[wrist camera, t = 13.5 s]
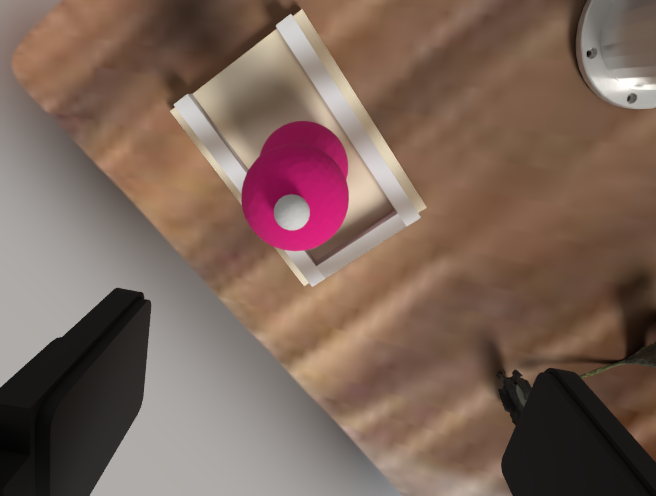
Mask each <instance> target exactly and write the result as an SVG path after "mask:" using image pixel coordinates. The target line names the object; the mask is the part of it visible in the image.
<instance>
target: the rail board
mask: <svg viewBox="0 0 656 496" xmlns="http://www.w3.org/2000/svg"><path fill="white" fill-rule="evenodd" d="M276 27H277V29H276V30H274V31H273V32H272V33H271V34H269V35H268V36H267V37H265V38H264V39H263V40H262V41H260V42H259V43H258V44H256V45H255V46H254V47H252V48H251V49H250V50H249V51H247V52H246V53H245V54H243V55H242V56H241V57H240V58H238V59H237V60H236V61H234V62H233V63H232V64H230V65H229V66H228V67H227V68H225V69H224V70H223V71H221V72H220V73H219V74H218V75H216V76H215V77H214V78H212V79H211V80H210V81H208V82H207V83H206V84H205V85H203V86H202V87H201V88H199V89H198V90H197V91H195V92H194V93H193V94H187V95H185V96H184V97H183V98H181V99H180V100H179V101H177V102H176V103H175V104H174V106H175V108H173V109H172V110H171V111H170V112H171V113H172V114H173V116H174V117H175V118H176V120H177V121H178V122H179V124H180V125H181V126H182V128H183V129H184V130H185V131H186V133H187V134H188V135H189V137H190V138H191V139H192V141H193V142H194V143H195V144H196V146H197V147H198V148H199V150H200V151H201V152H202V154H203V155H204V156H205V158H206V159H207V160H208V161H209V163H210V164H211V165H212V167H213V168H214V169H215V171H216V172H217V173H218V174H219V176H220V177H221V178H222V180H223V181H224V182H225V184H226V185H227V186H228V188H229V189H230V190H231V191H232V193H233V194H234V195H235V197H236V198H237V199H238V201H239V202H240V203H241V204H242V202H241V195H242V186H243V181H244V179H245V177H246V174H247V172H248V170H249V169H250V167H251V166H252V164H253V163H254V162H255V161H256V159H257V158H258V157H259V156H260V153H261V150H262V147H263V145H264V143H265V142H266V140H267V139H268V137H269V136H270V135H271V134H272V133H273V132H274V131H275V130H277V129H278V128H280V127H281V126H283V125H285V124H288V123H291V122H295V121H310V122H315V123H318V124H320V125H323V126H324V127H326V128H328V129H329V130H331V131H332V132H333V133H334V134H335V135H336V136H337V137H338V138H339V140H340V141H341V143H342V144H343V146H344V148H345V151H346V154H347V158H348V175H347V180H346V181H347V185H348V190H349V204H348V210H347V214H346V217H345V219H344V221H343V223H342V225H341V227H340V228H339V229H338V231H337V232H336V233H335V234H334V235H333V236H332V237H331V238H330V239H329V240H327V241H326V242H325V243H323V244H322V245H320V246H317V247H315V248H312V249H309V250H305V251H287V250H282V249H279V248H276V247H275V249H276V250H277V251H278V253H279V254H280V255H281V257H282V258H283V259H284V261H285V262H286V263H287V264H288V266H289V267H290V268H291V270H292V271H293V272H294V274H295V275H296V276H297V277H298V279H299V280H300V281H301V283H302V284H303V285H304V286H305V285H307V284H308V283H309V284H310V285H311V286H312V287H313V286H314V285H316V284H318V283H319V282H321V281H322V280H324V279H325V278H327V277H329V276H330V275H332V274H333V273H335V272H336V271H338V270H339V269H341V268H343V267H344V266H346V265H347V264H349V263H350V262H352V261H354V260H355V259H357V258H358V257H360V256H361V255H363V254H365V253H366V252H368V251H369V250H371V249H372V248H374V247H375V246H377V245H379V244H380V243H382V242H383V241H385V240H386V239H388V238H390V237H391V236H393V235H394V234H396V233H397V232H399V231H401V230H402V229H404V228H405V227H407V226H408V225H410V224H411V223H413V222H415V221H416V220H418V219H419V218H421V217H420V216H419V214H418V213H419V212H420V211H422V210H424V209H425V208H427V207H426V206H425V204H424V203H423V201H422V199H421V198H420V196H419V195H418V193H417V191H416V190H415V188H414V187H413V185H412V183H411V182H410V180H409V179H408V177H407V175H406V174H405V172H404V171H403V169H402V167H401V166H400V164H399V163H398V161H397V159H396V158H395V156H394V155H393V153H392V152H391V150H390V148H389V147H388V145H387V144H386V142H385V140H384V139H383V137H382V136H381V134H380V132H379V131H378V129H377V128H376V126H375V124H374V123H373V121H372V120H371V118H370V116H369V115H368V113H367V112H366V110H365V109H364V107H363V105H362V104H361V102H360V101H359V99H358V97H357V96H356V94H355V93H354V91H353V89H352V88H351V86H350V85H349V83H348V81H347V80H346V78H345V77H344V75H343V73H342V72H341V70H340V69H339V67H338V65H337V64H336V62H335V61H334V59H333V58H332V56H331V54H330V53H329V51H328V50H327V48H326V46H325V45H324V43H323V42H322V40H321V38H320V37H319V35H318V34H317V32H316V30H315V29H314V27H313V26H312V24H311V22H310V21H309V19H308V18H307V16H306V14H305V13H304V11H303V10H300V11H299V12H298V13H296V14H295V15H294V16H292V15H291V14H290V15H289V16H287V17H286V18H285V19H283V20H282V21H281V22H279V23H278V24H277V25H276Z"/></svg>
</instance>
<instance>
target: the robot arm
mask: <svg viewBox="0 0 656 496" xmlns="http://www.w3.org/2000/svg"><path fill="white" fill-rule="evenodd" d="M587 52H588V56H587ZM576 56H577V61H578V66H579V69H580V72H581V74H582V76H583V79H584V81H585V82H586V83H587V85H588V86H589V88H590V89H591V90H592V91H593V92H594V93H595V94H596V95H597V96H598V97H599V98H601V99H602V100H604V101H606V102H608V103H610V104H612V105H614V106H618V107H622V108H629V109H649V108H655V107H656V0H587V2H586V4H585V6H584V7H583V10H582V13H581V17H580V20H579V23H578V28H577V34H576ZM627 97H628V98H627ZM150 314H151V302H150V300H145V299H144V294H143V293H142V292H137V291H132V290H126V289H121V288H116V289H114V290H113V291H112V292H111V293H110V294H109V295H107V296H106V297H105V298H104V299H103V300H102V301H101V302H100V303H99V304H98V305H97V306H95V307H94V308H93V309H92V310H91V311H90V312H89V313H88V314H87V315H86V316H85V317H83V318H82V319H81V320H80V321H79V322H78V323H77V324H76V325H75V326H74V327H73V328H72V329H70V330H69V331H68V332H67V333H66V334H65V335H64V336H63V337H60V338H56V339H55V340H53V341H52V342H50V343H49V344H48V345H47V346H46V347H45V348H44V349H43V350H42V351H41V352H40V353H38V354H37V355H36V356H35V357H34V358H33V359H32V360H30V361H29V362H28V363H27V364H26V365H25V366H24V367H23V368H22V369H20V370H19V371H18V372H17V373H16V374H15V375H14V376H13V377H12V378H10V379H9V380H8V381H7V382H6V383H5V384H4V385H3V386H2V387H0V496H89V495H90V494H91V492H92V490H93V489H94V487H95V485H96V484H97V482H98V480H99V478H100V477H101V475H102V473H103V472H104V470H105V468H106V467H107V465H108V463H109V462H110V460H111V458H112V457H113V455H114V453H115V452H116V450H117V448H118V446H119V445H120V443H121V441H122V440H123V438H124V436H125V435H126V433H127V431H128V430H129V428H130V426H131V424H132V423H133V421H134V419H135V418H136V416H137V414H138V412H139V410H140V408H141V405H142V401H143V393H144V383H145V371H146V359H147V348H148V336H149V326H150ZM501 468H502V473H503V476H504V478H505V480H506V482H507V484H508V486H509V489H510V491H511V493H512V495H513V496H656V462H655V461H654V460H653V459H652V458H651V457H650V456H649V454H648V453H647V452H646V451H645V450H644V449H643V448H642V447H641V445H640V444H639V443H638V442H637V441H636V440H635V439H634V438H633V436H632V435H631V434H630V433H629V432H628V431H627V430H626V429H625V427H624V426H623V425H622V424H621V423H620V422H619V421H618V420H617V418H616V417H615V416H614V415H613V414H612V413H611V412H610V411H609V409H608V408H607V407H606V406H605V405H604V404H603V403H602V401H601V400H600V399H599V398H598V397H597V396H596V395H595V394H594V392H593V391H592V390H591V389H590V388H589V387H588V386H587V385H586V383H585V382H584V381H583V380H582V379H581V378H580V377H579V376H578V375H577V374H576V373H575V372H570V371H565V370H560V369H554V368H549V369H547V370H546V371H545V372H544V373H543V372H542V373H540V374H539V375H538V376H537V378H536V380H535V382H534V384H533V387H532V389H531V391H530V394H529V396H528V399H527V401H526V403H525V406H524V408H523V410H522V413H521V415H520V417H519V420H518V422H517V424H516V427H515V429H514V431H513V434H512V436H511V439H510V441H509V443H508V446H507V448H506V450H505V453H504V455H503V458H502V463H501Z"/></svg>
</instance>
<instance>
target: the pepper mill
mask: <svg viewBox="0 0 656 496" xmlns="http://www.w3.org/2000/svg"><path fill="white" fill-rule="evenodd" d="M347 175H348V158H347V154H346V151H345V148H344V146H343V144H342V143H341V141H340V140H339V138H338V137H337V136H336V135H335V134H334V133H333V132H332V131H331V130H329V129H328V128H326V127H324V126H323V125H320V124H318V123H315V122H310V121H295V122H291V123H288V124H285V125H283V126H281V127H280V128H278V129H277V130H275V131H274V132H273V133H272V134H271V135H270V136H269V137H268V139H267V140H266V142H265V143H264V145H263V147H262V150H261V153H260V156H259V157H258V158H257V159H256V161H255V162H254V163H253V164H252V166H251V167H250V169H249V170H248V172H247V174H246V177H245V179H244V181H243V186H242V195H241V202H242V208H243V212H244V215H245V218H246V220H247V222H248V224H249V225H250V227H251V228H252V230H253V231H254V232H255V233H256V234H257V235H258V236H259V237H260V238H261V239H262V240H263V241H265V242H266V243H268V244H269V245H271V246H273V247H276V248H279V249H282V250H287V251H305V250H309V249H312V248H315V247H317V246H320V245H322V244H323V243H325V242H326V241H327V240H329V239H330V238H331V237H332V236H333V235H334V234H335V233H336V232H337V231H338V229H339V228H340V227H341V225H342V223H343V221H344V219H345V217H346V214H347V210H348V204H349V190H348V185H347V181H346V180H347Z"/></svg>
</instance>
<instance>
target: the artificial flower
mask: <svg viewBox="0 0 656 496" xmlns="http://www.w3.org/2000/svg"><path fill="white" fill-rule="evenodd" d="M621 364H639V365H643V366H649V367H655V368H656V342H655V343H653V344H650V345H649V346H647V347H643V348H641V349H640V350H639V351H638V352H636V353H635V354H633V355H631V356H629V357H628V358H627V359H625V360H623V361H621V362H616V363H613V364H611V365H607V366H605V367H601V368H598V369H595V370H593V371H591V372H588V373H585V374H583V375H580V376H579V377H580V378H581V379H582V378H585V377H587V376H593V375H595V374H598V373H600V372H602V371H604V370H607V369H609V368H612V367H614V366H619V365H621ZM503 372H504V371H503ZM504 373H505V372H504ZM500 374H501V375H500ZM512 374H513V376H512V377H510V378H508V377H504V376H502V373H501V371H500V373H499V372H498V375H497V377H498V379H499V378H500V377H502V378H504V384H505V385H504V386H503V389H502V390H501V389H499V393H500V396H501V397H500V398H501V401H502V403H503V406H504V409H505V411H507V412H510V416H511V418H512V423H514V424H515V425H516V424H517V422H518V420H519V417H520V415H521V413H522V410H523V408H524V406H525V403H526V401H527V399H528V396H529V394H530V391H531V389H532V388H531V386H530V384H529V382H528V381H527V380H525V379H523V378H520V376H522V375H521V374H520V373H519V372H518V371H517V370H514V371H513V372H512Z"/></svg>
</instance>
